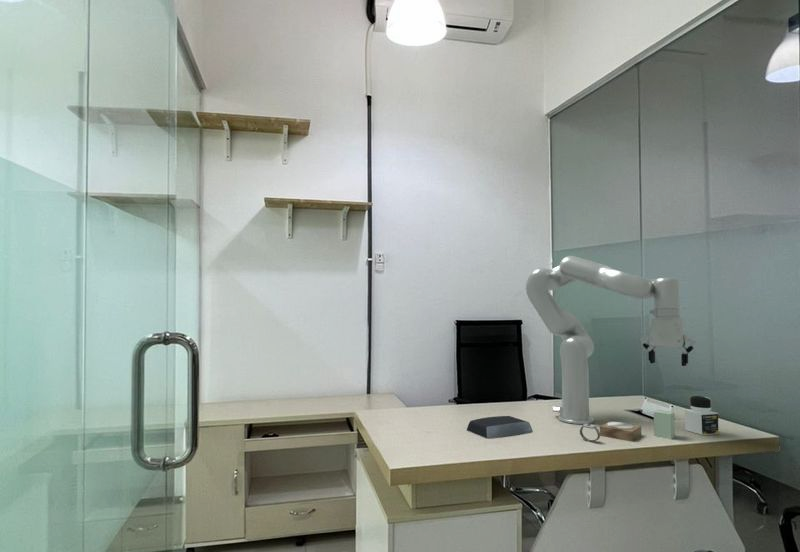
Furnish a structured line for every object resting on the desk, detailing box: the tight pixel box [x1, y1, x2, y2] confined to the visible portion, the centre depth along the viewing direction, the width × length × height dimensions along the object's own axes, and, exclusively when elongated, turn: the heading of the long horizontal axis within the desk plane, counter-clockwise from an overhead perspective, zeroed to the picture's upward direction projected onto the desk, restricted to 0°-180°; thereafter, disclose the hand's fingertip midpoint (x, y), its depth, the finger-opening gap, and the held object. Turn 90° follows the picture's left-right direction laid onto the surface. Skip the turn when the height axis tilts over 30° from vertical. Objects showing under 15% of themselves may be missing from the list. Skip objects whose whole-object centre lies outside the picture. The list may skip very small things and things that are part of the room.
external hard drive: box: [466, 415, 534, 440], centre depth 162 cm, size 13×19×4 cm
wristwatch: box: [579, 423, 601, 443], centre depth 151 cm, size 6×3×5 cm, turn 44°
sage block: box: [653, 409, 676, 440], centre depth 157 cm, size 5×5×8 cm
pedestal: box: [599, 420, 642, 442], centre depth 158 cm, size 10×10×3 cm
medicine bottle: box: [683, 395, 720, 436], centre depth 163 cm, size 7×7×12 cm
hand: (668, 364), depth 161 cm, fingers open, 9 cm apart
